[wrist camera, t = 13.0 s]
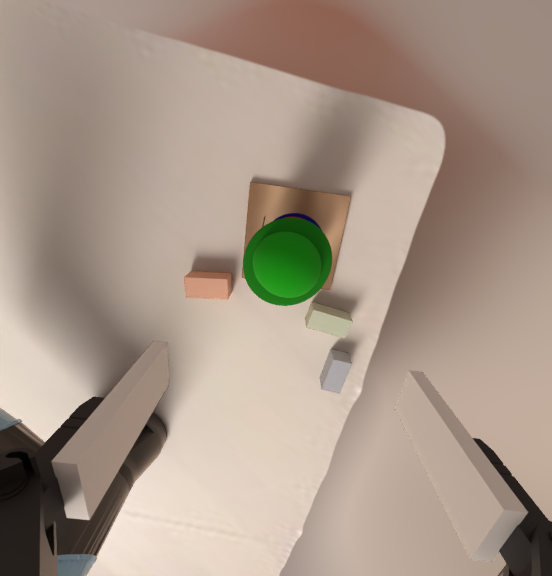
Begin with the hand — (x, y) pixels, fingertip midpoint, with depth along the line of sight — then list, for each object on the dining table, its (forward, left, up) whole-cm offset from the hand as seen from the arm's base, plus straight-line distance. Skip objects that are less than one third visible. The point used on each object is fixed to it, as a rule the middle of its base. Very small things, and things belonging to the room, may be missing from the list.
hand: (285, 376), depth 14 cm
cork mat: (0, +3, -25) cm, 25 cm away
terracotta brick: (-11, -5, -25) cm, 28 cm away
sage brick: (+7, -8, -25) cm, 27 cm away
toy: (0, +3, -25) cm, 25 cm away
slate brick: (+10, -17, -25) cm, 32 cm away
